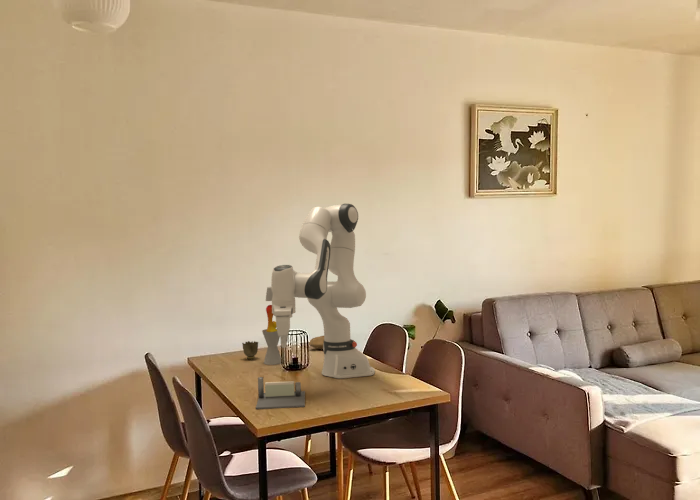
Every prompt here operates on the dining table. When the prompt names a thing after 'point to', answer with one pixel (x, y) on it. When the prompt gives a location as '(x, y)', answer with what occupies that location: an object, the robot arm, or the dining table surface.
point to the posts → (261, 388)
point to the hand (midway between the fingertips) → (284, 344)
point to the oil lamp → (317, 342)
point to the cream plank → (279, 388)
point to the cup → (250, 349)
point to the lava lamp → (271, 335)
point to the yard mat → (281, 401)
